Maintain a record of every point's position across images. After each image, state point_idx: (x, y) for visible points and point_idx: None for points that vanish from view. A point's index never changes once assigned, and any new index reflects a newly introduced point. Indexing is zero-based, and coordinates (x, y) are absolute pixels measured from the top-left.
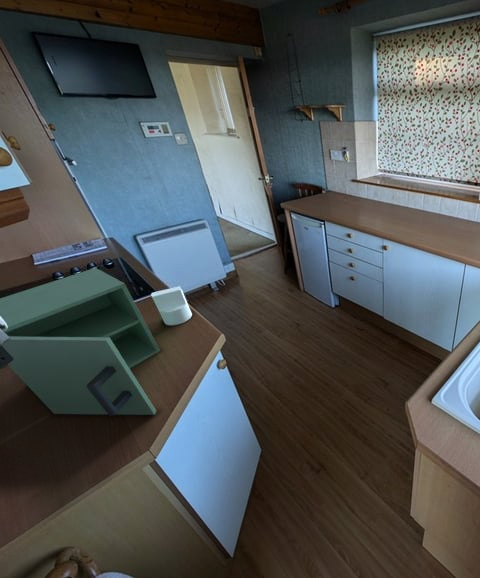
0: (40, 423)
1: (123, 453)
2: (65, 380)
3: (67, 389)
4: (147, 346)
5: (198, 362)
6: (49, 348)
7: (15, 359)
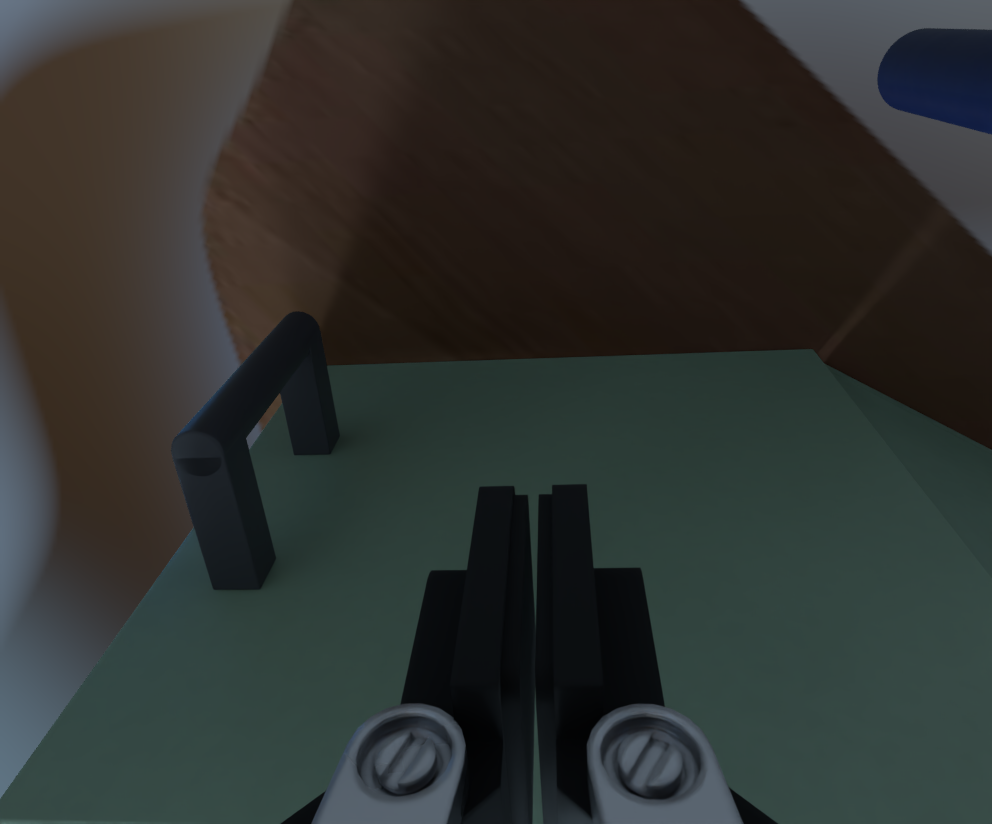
0: (841, 297)
1: (284, 173)
2: (629, 497)
3: (656, 451)
4: None
5: None
6: None
7: (922, 633)
